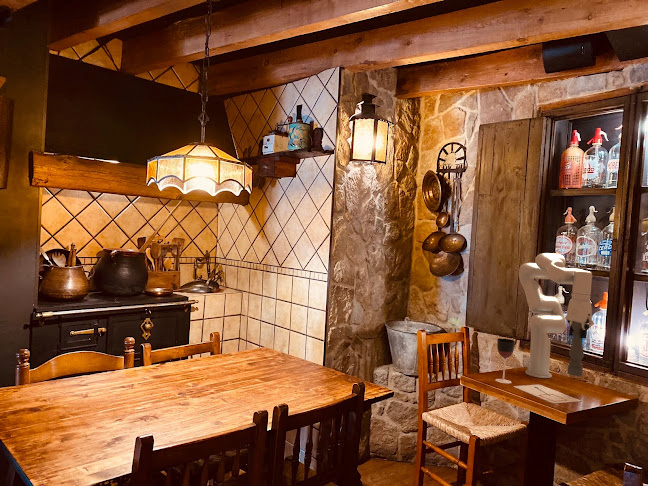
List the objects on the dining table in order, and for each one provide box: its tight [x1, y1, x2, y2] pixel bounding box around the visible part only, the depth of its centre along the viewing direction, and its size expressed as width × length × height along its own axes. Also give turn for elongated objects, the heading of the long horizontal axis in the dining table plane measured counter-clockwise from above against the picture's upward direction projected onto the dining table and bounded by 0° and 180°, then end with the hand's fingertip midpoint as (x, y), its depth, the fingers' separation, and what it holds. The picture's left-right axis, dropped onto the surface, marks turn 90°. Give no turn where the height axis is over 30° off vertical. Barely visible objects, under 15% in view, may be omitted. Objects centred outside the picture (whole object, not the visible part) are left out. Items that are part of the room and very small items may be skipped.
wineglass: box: [495, 338, 516, 384], centre depth 249 cm, size 8×9×20 cm
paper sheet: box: [513, 384, 582, 404], centre depth 232 cm, size 24×16×1 cm, turn 22°
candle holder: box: [567, 321, 585, 377], centre depth 234 cm, size 6×6×25 cm
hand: (577, 336), depth 234 cm, fingers closed on candle holder, 5 cm apart
